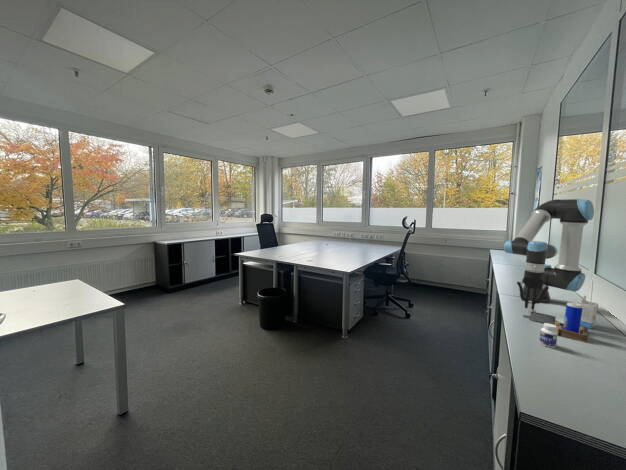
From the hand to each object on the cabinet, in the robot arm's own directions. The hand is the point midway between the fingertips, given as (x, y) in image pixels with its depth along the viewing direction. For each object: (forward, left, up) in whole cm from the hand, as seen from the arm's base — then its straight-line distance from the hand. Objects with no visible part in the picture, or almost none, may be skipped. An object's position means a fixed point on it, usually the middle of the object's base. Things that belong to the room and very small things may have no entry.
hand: (528, 314), depth 135 cm
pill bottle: (+30, +5, -3) cm, 30 cm away
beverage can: (+10, +15, -3) cm, 18 cm away
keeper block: (+6, +10, -2) cm, 12 cm away
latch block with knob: (+1, +6, -2) cm, 6 cm away
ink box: (-10, +23, -3) cm, 26 cm away
